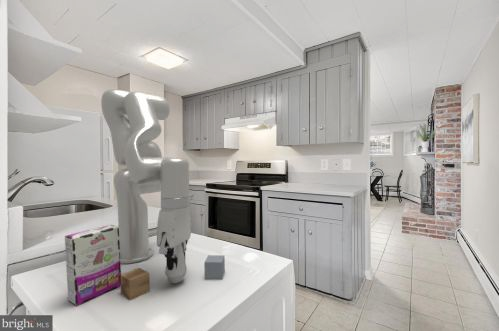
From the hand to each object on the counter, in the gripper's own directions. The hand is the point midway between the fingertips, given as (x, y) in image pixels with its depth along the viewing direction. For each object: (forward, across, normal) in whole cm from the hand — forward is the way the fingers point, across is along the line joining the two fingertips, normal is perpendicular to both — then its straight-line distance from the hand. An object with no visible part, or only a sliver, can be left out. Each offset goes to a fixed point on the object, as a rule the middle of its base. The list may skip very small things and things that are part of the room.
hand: (176, 267), depth 67 cm
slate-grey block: (+4, -7, +9) cm, 12 cm away
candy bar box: (+5, +10, -17) cm, 21 cm away
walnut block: (+4, +7, -7) cm, 11 cm away
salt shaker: (+3, 0, 0) cm, 3 cm away
